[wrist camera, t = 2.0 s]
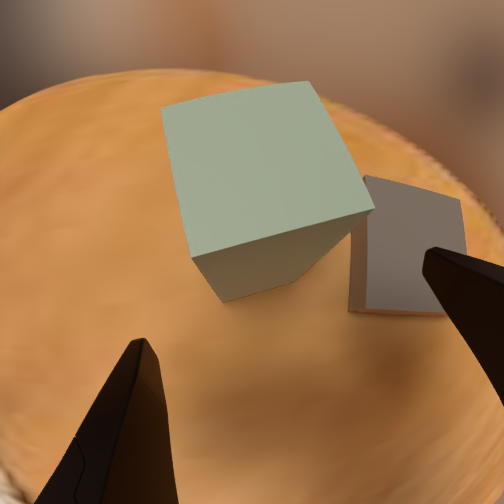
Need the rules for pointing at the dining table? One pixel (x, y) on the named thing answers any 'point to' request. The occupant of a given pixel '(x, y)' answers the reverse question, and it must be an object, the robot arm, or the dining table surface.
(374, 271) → the slate plinth
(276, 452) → the dining table surface
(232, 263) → the sage green block
